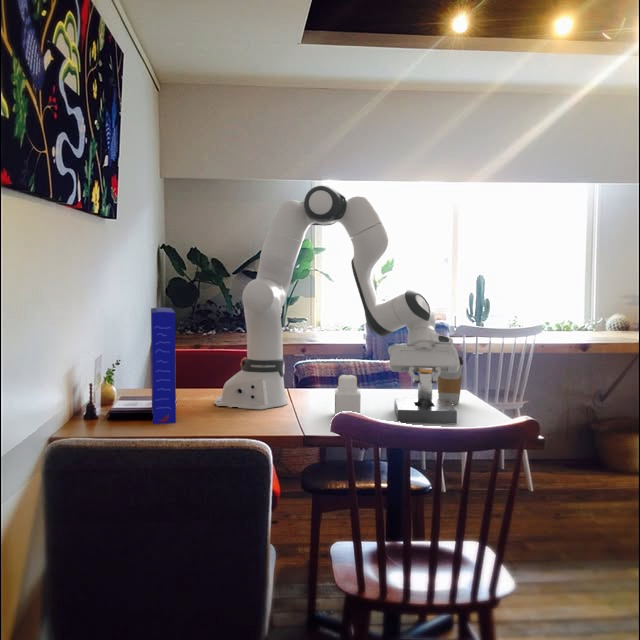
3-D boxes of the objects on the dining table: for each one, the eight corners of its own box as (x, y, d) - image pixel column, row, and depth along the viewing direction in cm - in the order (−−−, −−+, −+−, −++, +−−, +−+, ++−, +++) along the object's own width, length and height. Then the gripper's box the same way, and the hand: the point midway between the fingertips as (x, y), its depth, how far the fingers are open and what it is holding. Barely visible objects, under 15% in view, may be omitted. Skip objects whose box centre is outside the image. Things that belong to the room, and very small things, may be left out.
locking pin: (418, 407, 173) (418, 368, 172) (416, 404, 177) (417, 366, 176) (432, 407, 172) (433, 369, 172) (431, 404, 177) (431, 366, 176)
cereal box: (175, 422, 164) (175, 311, 162) (152, 424, 162) (151, 311, 160) (172, 406, 185) (171, 307, 182) (151, 407, 183) (150, 307, 181)
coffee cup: (462, 406, 189) (464, 358, 188) (435, 404, 191) (436, 357, 190) (461, 400, 197) (463, 355, 196) (435, 399, 199) (436, 354, 198)
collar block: (397, 422, 167) (398, 409, 167) (394, 409, 183) (394, 398, 183) (456, 423, 166) (457, 411, 166) (448, 410, 182) (448, 399, 182)
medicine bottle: (334, 413, 178) (335, 372, 177) (359, 413, 178) (360, 372, 177) (334, 418, 171) (335, 376, 170) (360, 419, 171) (360, 376, 170)
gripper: (388, 337, 181) (389, 375, 172) (457, 338, 180) (462, 376, 170) (387, 350, 186) (388, 388, 177) (455, 351, 184) (459, 389, 175)
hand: (425, 382), depth 173 cm, fingers closed on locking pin, 4 cm apart
